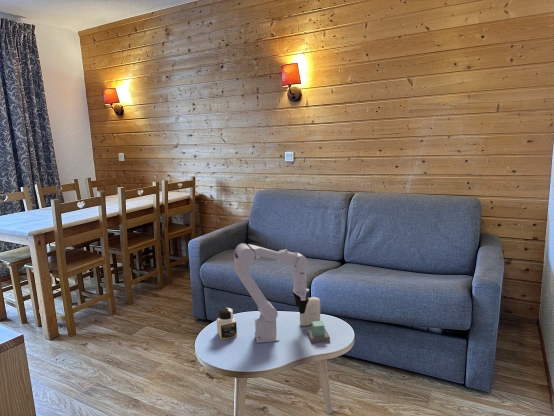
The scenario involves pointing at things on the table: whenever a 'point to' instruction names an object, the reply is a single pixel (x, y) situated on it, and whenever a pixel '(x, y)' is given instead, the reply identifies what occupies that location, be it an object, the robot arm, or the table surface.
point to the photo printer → (311, 312)
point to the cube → (318, 328)
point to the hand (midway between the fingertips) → (300, 309)
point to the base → (318, 337)
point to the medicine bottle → (226, 324)
